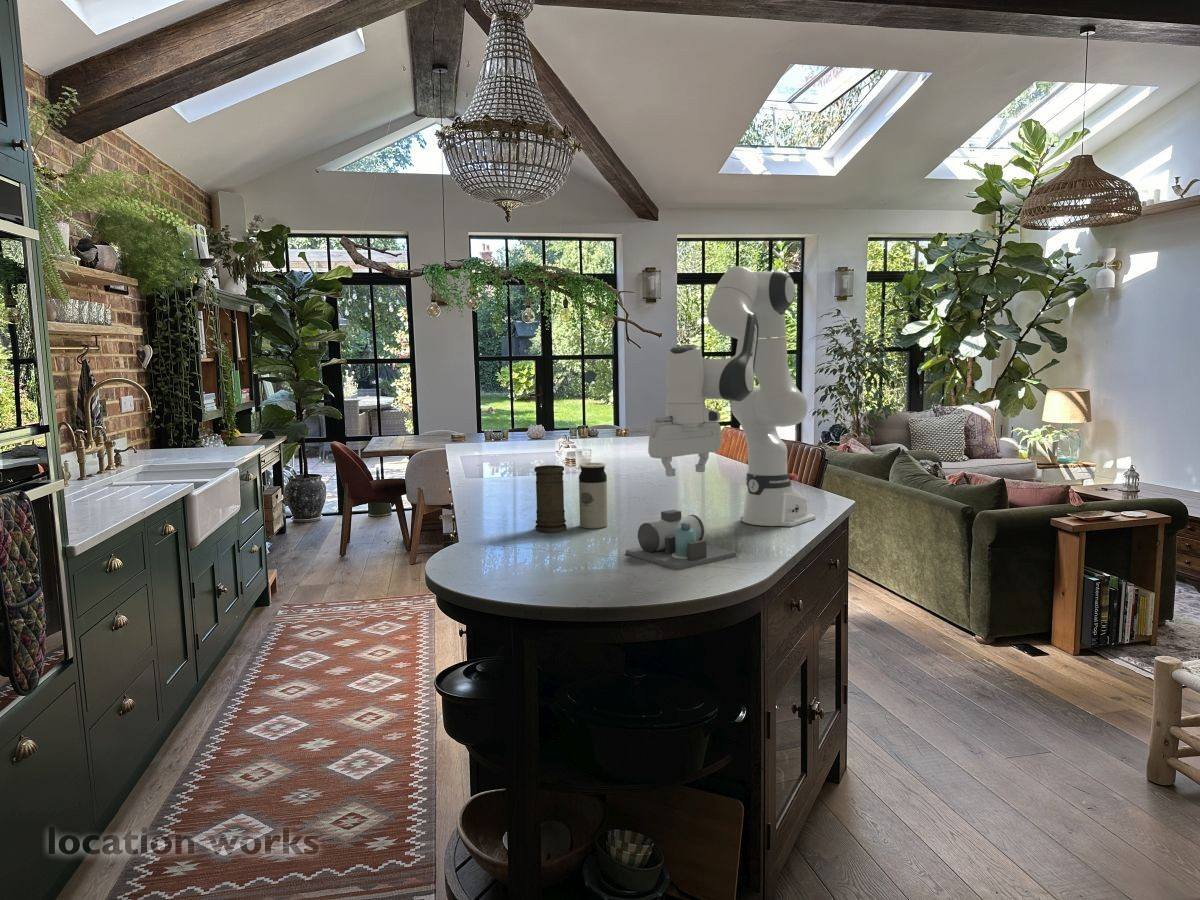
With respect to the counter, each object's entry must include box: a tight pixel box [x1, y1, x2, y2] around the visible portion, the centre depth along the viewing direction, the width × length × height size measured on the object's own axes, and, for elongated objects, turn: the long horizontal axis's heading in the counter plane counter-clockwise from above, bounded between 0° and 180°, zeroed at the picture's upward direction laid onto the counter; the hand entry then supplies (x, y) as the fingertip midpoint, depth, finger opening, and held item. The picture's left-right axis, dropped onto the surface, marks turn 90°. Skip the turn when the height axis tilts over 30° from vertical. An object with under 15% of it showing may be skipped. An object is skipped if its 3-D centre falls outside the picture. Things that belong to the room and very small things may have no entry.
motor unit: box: [625, 509, 737, 570], centre depth 191 cm, size 19×19×10 cm
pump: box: [675, 523, 696, 557], centre depth 187 cm, size 5×5×8 cm
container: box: [534, 464, 568, 534], centre depth 222 cm, size 9×9×18 cm
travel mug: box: [578, 462, 609, 530], centre depth 226 cm, size 8×8×18 cm
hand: (685, 473), depth 185 cm, fingers open, 8 cm apart
